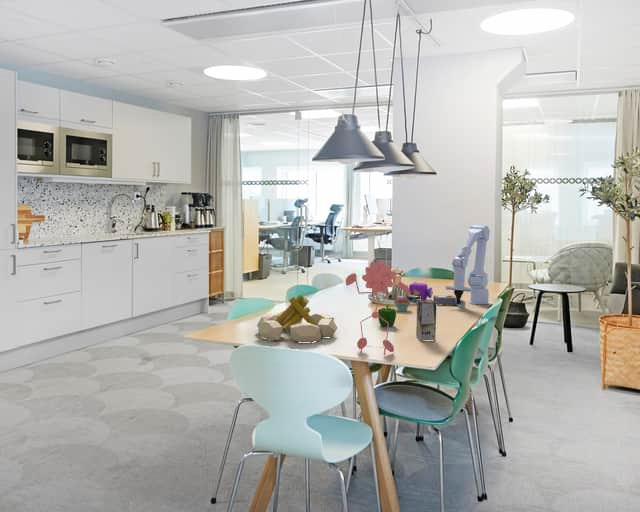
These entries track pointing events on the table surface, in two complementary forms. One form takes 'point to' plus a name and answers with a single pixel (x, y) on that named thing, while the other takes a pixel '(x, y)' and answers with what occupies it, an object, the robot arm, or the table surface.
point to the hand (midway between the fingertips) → (458, 303)
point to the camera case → (445, 300)
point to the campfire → (297, 323)
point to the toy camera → (420, 290)
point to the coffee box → (426, 320)
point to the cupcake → (402, 303)
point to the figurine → (377, 280)
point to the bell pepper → (387, 316)
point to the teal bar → (461, 303)
